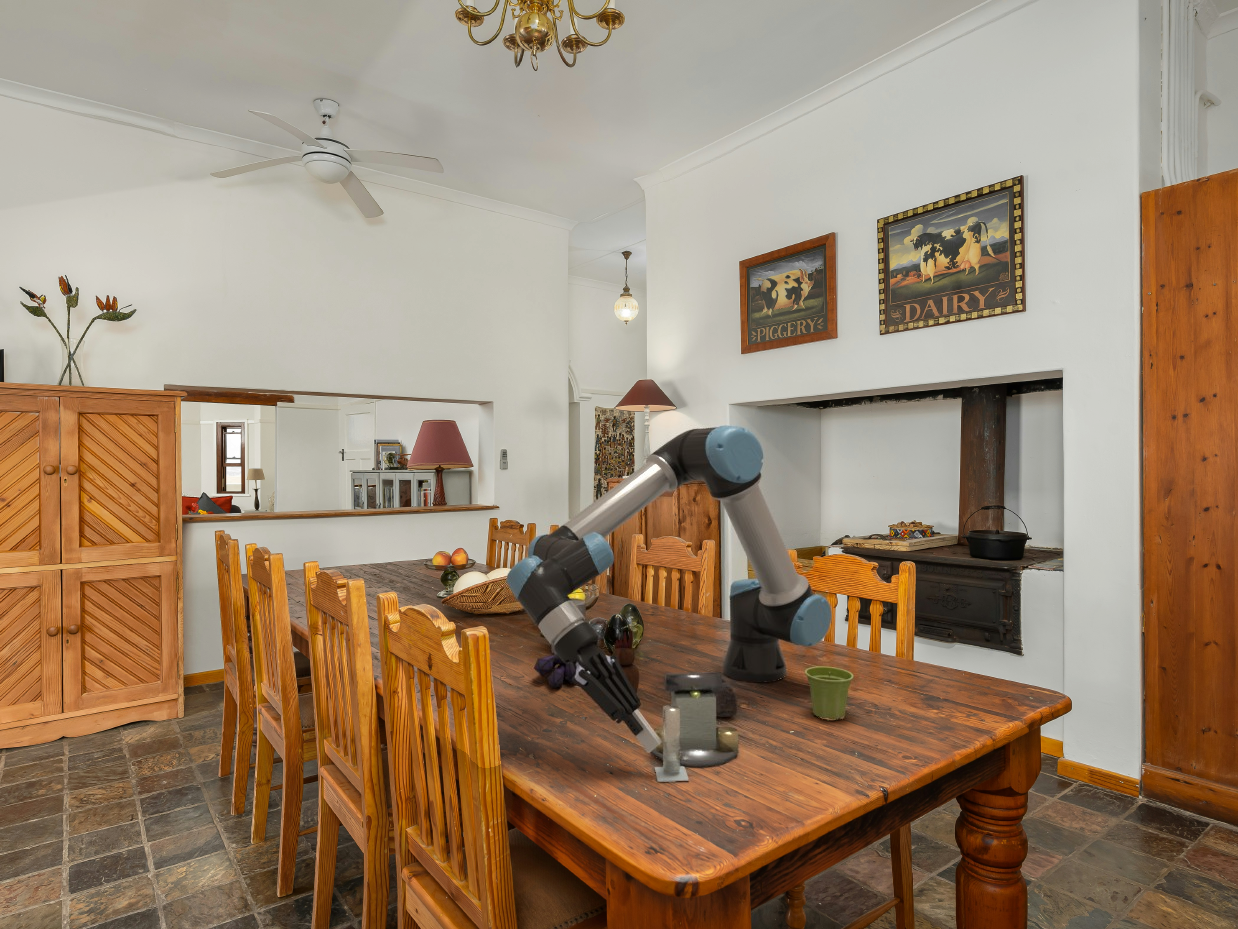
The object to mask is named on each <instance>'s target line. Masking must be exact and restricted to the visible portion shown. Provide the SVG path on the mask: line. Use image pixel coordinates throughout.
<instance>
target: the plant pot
mask: <svg viewBox="0 0 1238 929" xmlns="http://www.w3.org/2000/svg"><path fill="white" fill-rule="evenodd" d="M804 674H805V675H806V677H807V681H808V684H809V692H810V699H811V706H812V707H811V708H812V713H814V714H815V715H816V716H815V717H818V716H819V717H822V718H829V719H837V718H841V717H843V716H846V711H847V710H846V709H847V702H848V701H847V700H848V696H849V690H850V686H851V682H852V681H853V679H854V674H853V673H852V672H851V671H848V670H845V669H843V668H838V667H834V666H833V667H832V666H813V667H808V668H806V669H805V670H804ZM814 714H813V715H814ZM819 717H818V718H819ZM837 720H838V719H837Z"/></svg>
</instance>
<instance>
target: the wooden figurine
mask: <svg viewBox="0 0 1238 929" xmlns="http://www.w3.org/2000/svg"><path fill="white" fill-rule="evenodd" d="M633 630H634V629H631V631H630V633H629V638H627V633H626V631H624V632H623V634H624V635H623V639H622V636H619V640H618V639H616V641H615V645H614V647H615V648H613V649H612V650H613V651H612V655H613V654H615V655H616V656H617V657H618V660H619V663H620V666H621V668H622V669H623V671H624V673H625V675H626V676H627V678H628V680H629V681H630V683H631V685H632V687H633V688H634V690H635V692H636V693H637V692H638V689H639V684H640V672H639V668H638V666H637V665H635V664H633V663H634V662H635V658H636V657H635V650H634V649H633V634H634V633H633ZM637 694H638V693H637Z"/></svg>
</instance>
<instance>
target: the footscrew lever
mask: <svg viewBox="0 0 1238 929" xmlns="http://www.w3.org/2000/svg"><path fill="white" fill-rule="evenodd" d="M653 730H654V732H655V733H656V734H657V736H658V737H659V738H660V740H661V741H662V742H661V743H660V744H659V745H658V746H657V747H656V748H655V750H657V751H660V752H663V761H662V767H663V770H664V771H666V772H670V773H675V772H678V771H680V707H679V706H676V705H671V704H667V705H663V706H662V726H658V727H656V728H654V729H653Z"/></svg>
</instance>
